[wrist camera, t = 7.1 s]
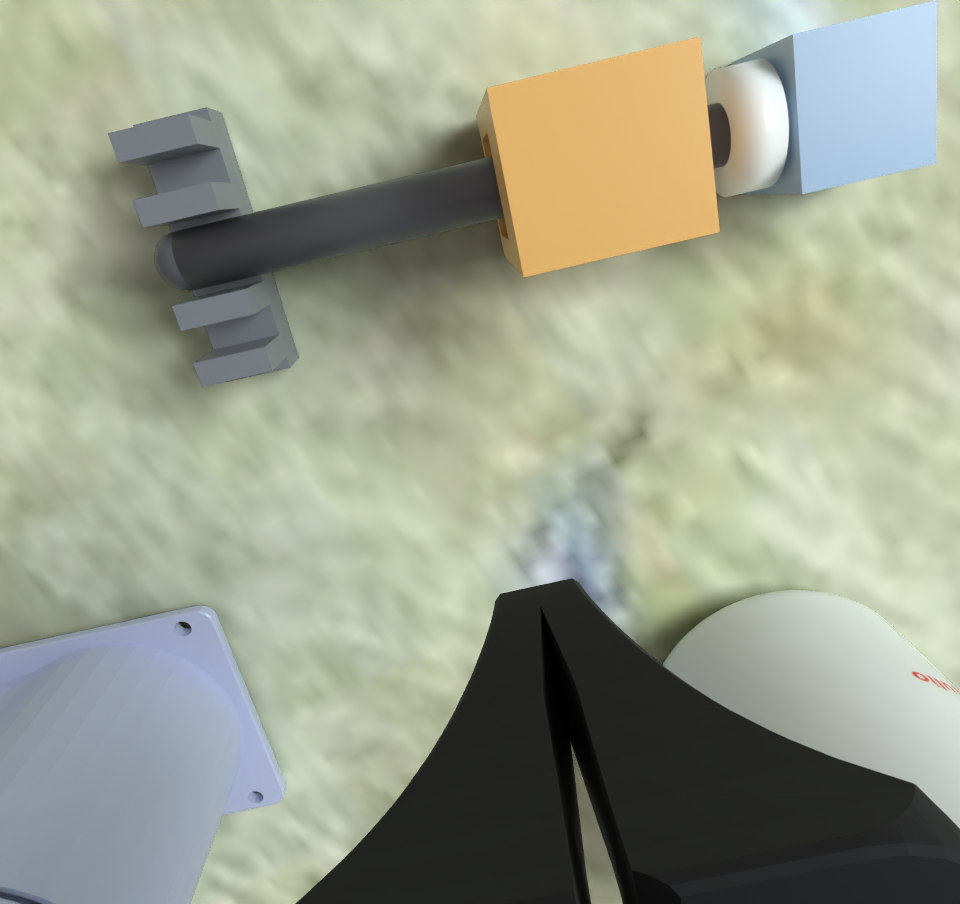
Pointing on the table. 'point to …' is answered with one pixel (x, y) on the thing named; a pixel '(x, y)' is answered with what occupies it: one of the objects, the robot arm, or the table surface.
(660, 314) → the table surface
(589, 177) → the sleeve
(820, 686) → the mug
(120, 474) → the table surface
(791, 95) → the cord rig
